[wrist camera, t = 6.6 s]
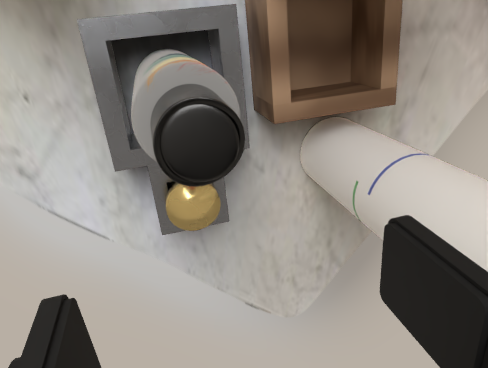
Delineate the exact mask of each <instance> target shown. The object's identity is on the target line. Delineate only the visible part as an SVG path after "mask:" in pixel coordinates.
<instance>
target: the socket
mask: <svg viewBox="0 0 488 368" xmlns="http://www.w3.org/2000/svg"><path fill="white" fill-rule="evenodd" d="M77 22H78V26H79V30H80V34H81V38H82V42H83V46H84V50H85V54H86V58H87V62H88V66H89V70H90V74H91V78H92V82H93V86H94V90H95V94H96V98H97V102H98V105H99V109H100V113H101V117H102V121H103V125H104V129H105V133H106V137H107V141H108V145H109V149H110V153H111V157H112V161H113V165H114V169H115V171H120V170H126V169H132V168H138V167H143V166H147V167H148V171H149V176H150V181H151V185H152V190H153V195H154V199H155V204H156V209H157V213H158V218H159V223H160V227H161V232H162V235H166V234H171V233H176V232H180V231H185V230H183V229H180V228H178V227H177V226H175V225H174V224H173V223H172V222H171V221H170V219H169V218H168V215H167V212H166V204H165V200H166V196H167V193H168V186H167V182H171V181H173V180H172V179H170V178H169V177H168V176H167V175H166V174H165V173H164V172H163V171H162V169H161V168H160V166H159V165H158V163H157V162H156V161H155V160H154V159H152V158H151V157H150V156H149V155H148V154H147V153H146V152H145V151H144V150H143V149H142V147H141V146H140V144H139V143H138V141H137V139H136V137H135V134H132V132H131V128H130V123H129V119H128V114H127V110H126V106H125V101H124V97H123V92H122V88H121V83H120V79H119V74H118V70H117V65H116V61H115V56H114V52H113V47H112V43H111V40H117V39H126V38H135V37H145V36H154V35H163V34H172V33H182V32H191V31H200V30H208V37H209V45H210V53H211V61H212V69H213V70H214V71H216V72H217V73H219V74H220V75H221V76H222V77H223V78H224V79H225V80H226V81H227V82H228V83H229V85H230V86H231V88H232V89H233V91H234V93H235V95H236V98H237V101H238V104H239V109H240V120H241V122H242V125H243V127H244V132H245V146H244V149H247V148H250V147H249V137H248V126H247V115H246V105H245V94H244V83H243V73H242V62H241V51H240V41H239V30H238V19H237V9H236V4H231V5H221V6H210V7H200V8H189V9H179V10H169V11H158V12H148V13H138V14H127V15H117V16H106V17H96V18H86V19H77ZM211 184H212V185H213V186H214V187H215V189H216V191H217V193H218V195H219V198H220V204H221V205H220V211H219V214H218V216H217V218H216V219H215V220H214V221H213V222H212V223H211V224H210V225H214V224H219V223H224V222H228V221H229V215H228V207H227V199H226V192H225V184H224V177H223V178H221V179H220V180H218V181H216V182H214V183H211Z"/></svg>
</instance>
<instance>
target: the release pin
mask: <svg viewBox="0 0 488 368" xmlns="http://www.w3.org/2000/svg"><path fill="white" fill-rule="evenodd" d="M171 184H172V187H171V188H170V190H169V191H168V193H167V196H166V200H165V204H166V212H167V215H168V218H169V219H170V221H171V222H172V223H173V224H174V225H175V226H177V227H178V228H180V229H183V230H188V231H195V230H200V229H203V228H205V227H207V226H209V225H210V224H211V223H212V222H213V221H214V220H215V219H216V218H217V216H218V214H219V211H220V205H221V204H220V198H219V195H218V193H217V191H216V189H215V187H214V186H213V185H212V184H208V185H205V186H198V187H192V186H185V185H182V184H179V183H177V182H175V181H171Z"/></svg>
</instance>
